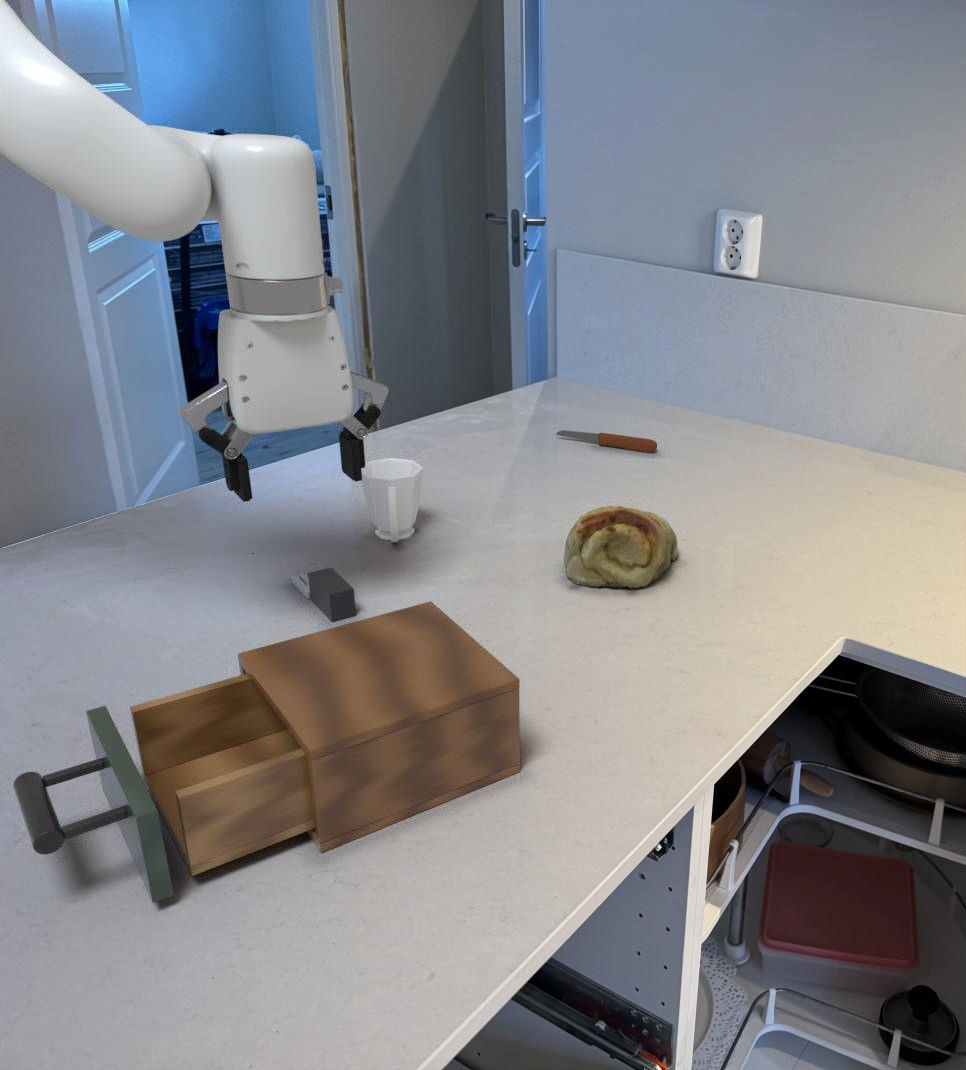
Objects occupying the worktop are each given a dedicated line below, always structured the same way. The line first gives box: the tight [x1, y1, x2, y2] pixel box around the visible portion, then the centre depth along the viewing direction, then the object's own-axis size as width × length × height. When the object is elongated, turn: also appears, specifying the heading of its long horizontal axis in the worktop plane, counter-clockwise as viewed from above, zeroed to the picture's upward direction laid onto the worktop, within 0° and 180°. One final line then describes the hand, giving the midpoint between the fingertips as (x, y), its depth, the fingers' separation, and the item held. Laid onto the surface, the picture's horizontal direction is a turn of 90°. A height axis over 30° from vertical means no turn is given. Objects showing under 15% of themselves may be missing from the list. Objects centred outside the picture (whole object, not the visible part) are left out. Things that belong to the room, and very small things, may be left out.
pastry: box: [563, 505, 679, 589], centre depth 110 cm, size 14×12×8 cm
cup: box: [360, 457, 424, 543], centre depth 113 cm, size 7×10×8 cm
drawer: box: [12, 674, 315, 904], centre depth 68 cm, size 20×13×7 cm
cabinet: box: [237, 600, 521, 853], centre depth 76 cm, size 16×15×9 cm
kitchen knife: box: [555, 429, 658, 454], centre depth 149 cm, size 16×1×2 cm, turn 79°
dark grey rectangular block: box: [290, 567, 357, 623], centre depth 100 cm, size 10×3×3 cm, turn 41°
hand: (299, 486), depth 89 cm, fingers open, 9 cm apart
